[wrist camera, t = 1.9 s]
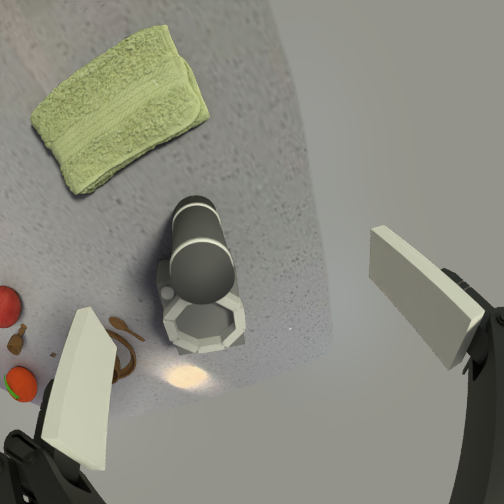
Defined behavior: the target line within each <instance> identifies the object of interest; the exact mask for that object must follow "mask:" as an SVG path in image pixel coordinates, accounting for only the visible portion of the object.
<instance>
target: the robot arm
mask: <svg viewBox="0 0 504 504" xmlns="http://www.w3.org/2000/svg"><path fill="white" fill-rule="evenodd" d="M369 278H371V280H372V281H373V282H374V283H375V284H376V285H377V286H378V287H379V289H380V290H381V291H382V292H383V293H384V294H385V295H386V296H387V297H388V298H389V299H390V301H391V302H392V303H393V304H394V305H395V307H396V308H397V309H398V310H399V311H400V312H401V313H402V315H403V316H404V317H405V318H406V319H407V320H408V322H409V323H410V324H411V325H412V326H413V328H414V329H415V330H416V331H417V332H418V334H419V335H420V336H421V337H422V338H423V340H424V341H425V342H426V343H427V344H428V346H429V347H430V348H431V349H432V351H433V352H434V353H435V354H436V356H437V357H438V358H439V359H440V361H441V362H442V363H443V365H444V366H445V367H446V368H447V370H450V369H452V368H453V367H455V366H456V365H458V364H459V363H461V362H462V360H463V358H464V356H465V354H466V352H467V353H468V354H469V355H470V356H471V357H470V359H469V360H468V362H467V364H466V366H465V368H464V369H463V373H462V374H465V373H466V371H467V369H468V368H469V372H468V397H467V409H466V420H465V428H464V436H463V443H462V449H461V455H460V460H459V465H458V470H457V475H456V479H455V483H454V487H453V491H452V495H451V498H450V502H449V504H504V307H497V308H494V307H492V306H491V305H490V304H489V303H488V302H487V301H486V300H485V299H484V298H483V297H482V296H481V295H479V294H478V293H477V292H476V291H475V290H474V289H473V288H472V287H471V288H470V286H469V285H468V284H467V283H466V282H464V281H463V279H461V278H460V277H459V276H458V275H457V274H456V273H454V272H452V271H450V270H447V269H445V268H443V269H441V270H439V268H437V267H436V266H435V265H434V264H433V263H431V262H430V261H429V260H428V259H427V258H425V257H424V256H423V255H422V254H420V253H419V252H418V251H417V250H416V249H414V248H413V247H412V246H410V245H409V244H408V243H407V242H405V241H404V240H403V239H402V238H400V237H399V236H397V235H396V234H395V233H394V232H392V231H391V230H390V229H388V228H387V227H386V226H384V225H382V226H379V227H376V228H372V229H371V238H370V268H369ZM116 351H117V347H116V345H115V344H114V342H113V341H112V339H111V338H110V336H109V335H108V333H107V332H106V330H105V329H104V327H103V326H102V324H101V323H100V321H99V320H98V318H97V316H96V315H95V313H94V312H93V310H92V308H91V307H86V308H82V309H79V310H77V312H76V315H75V318H74V320H73V323H72V326H71V329H70V331H69V334H68V337H67V340H66V343H65V346H64V349H63V352H62V355H61V359H60V362H59V365H58V369H57V372H56V376H55V379H51V380H50V382H49V384H48V385H47V387H46V389H45V391H44V395H43V399H42V400H43V402H42V403H41V407H40V409H41V410H40V412H39V416H38V420H37V425H36V429H35V435H34V439H31V438H30V437H29V436H28V435H26V434H25V433H24V432H22V431H20V430H13V431H12V432H10V433H9V434H8V436H7V437H6V439H5V442H4V453H1V452H0V504H106V503H105V502H104V500H103V499H102V498H101V497H100V495H99V494H98V493H97V491H96V490H95V489H94V487H93V486H92V484H91V483H90V482H89V480H88V479H87V477H86V476H85V475H84V474H83V473H82V472H81V471H80V465H82V466H84V467H85V468H87V469H89V470H105V457H106V437H107V423H108V413H109V403H110V394H111V386H112V378H113V371H114V364H115V358H116ZM5 454H6V455H7V456H6V455H5ZM8 456H9V457H10V458H9V457H8ZM23 495H25V496H27V497H28V499H29V503H28V502H26V501H24V498H23Z"/></svg>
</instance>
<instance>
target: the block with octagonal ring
mask: <svg viewBox="0 0 504 504" xmlns="http://www.w3.org/2000/svg"><path fill="white" fill-rule="evenodd" d="M228 251H229V253H230V249H228ZM230 255H231V253H230ZM231 258H232V256H231ZM232 261H233V259H232ZM233 268H234V272H235V281H234V285H233V287H232V289H231V290H230V292H229V293H228V294H227V295H226V296H225V297H223V298H222V299H220V300H219V301H217V302H214V303H211V304H205V305H198V304H192V303H189V302H187V301H184V300H183V299H181V298H180V297H179V296H178V295H177V294H176V293H175V292H174V290H173V288H172V285H171V275H170V259H165V260H159V261H158V267H157V276H156V287H157V290H158V293H159V296H160V300H161V303H162V306H163V309H164V313H163V323H164V326H165V329H166V331H167V334H168V337H169V340H170V341H172V344H175V345H176V347H177V350H178V353H179V355H183V354H190V353H197V352H198V353H205V352H211V351H217V350H222V349H225V348H226V347H227V348H228V347H232V346H237V345H242V344H245V341H244V333H243V332H244V331H245V330H244V329H246V325H245V316H244V308H243V304H242V301H241V300H240V298H239V291H238V283H237V274H236V268H235V265H234V262H233Z"/></svg>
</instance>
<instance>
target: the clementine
mask: <svg viewBox="0 0 504 504" xmlns="http://www.w3.org/2000/svg"><path fill="white" fill-rule="evenodd" d="M4 380H5V385H6V387H7V390H8V392H9V393H10V395H11V396H12V397H13V398H14V399H15V400H17V401H20V402H29V401H31V400H32V399H33V398H34V397H35V396H36V394H37V383H36V380H35V378H34V376H33V375H32V374H31V372H30V371H28V370H27V369H25V368H22V367H15V368H12V369H11V370H10V371H9V372H8V374H7V376H6V379H5V373H4Z"/></svg>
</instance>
